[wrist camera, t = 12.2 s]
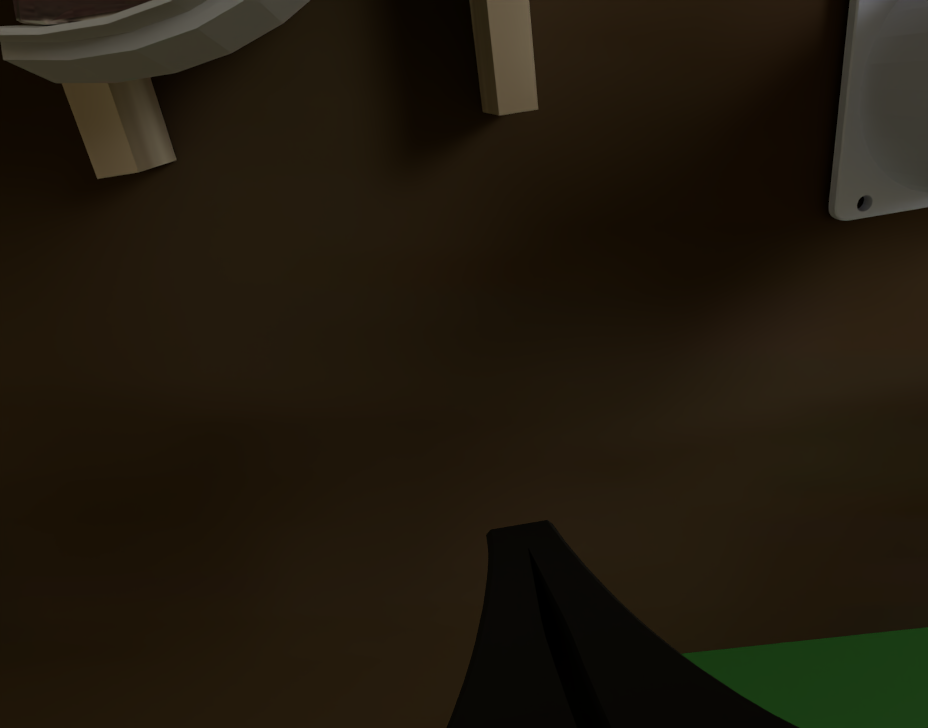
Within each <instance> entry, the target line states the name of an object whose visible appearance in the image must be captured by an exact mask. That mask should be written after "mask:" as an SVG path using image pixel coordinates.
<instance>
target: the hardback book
mask: <svg viewBox="0 0 928 728" xmlns="http://www.w3.org/2000/svg"><path fill="white" fill-rule="evenodd" d="M682 655H683V656H684V657H686V658H687V659H688V660H690V661H691V662H692V663H694V664H695V665H697V666H698V667H699V668H701V669H702V670H704V671H705V672H707V673H708V674H710V675H711V676H713V677H714V678H716V679H717V680H719V681H720V682H722V683H723V684H725V685H726V686H728V687H729V688H731V689H732V690H734V691H735V692H737V693H738V694H740V695H741V696H743V697H745V698H746V699H748V700H750V701H752V702H753V703H755V704H757V705H758V706H760V707H762V708H763V709H765V710H767V711H769V712H770V713H772V714H774V715H776V716H778V717H780V718H782V719H784V720H786V721H788V722H790V723H791V724H793V725H795V726H797V727H799V728H928V627H927V628H918V629H909V630H899V631H890V632H881V633H871V634H862V635H853V636H843V637H834V638H825V639H815V640H806V641H797V642H787V643H778V644H769V645H759V646H750V647H741V648H731V649H722V650H713V651H703V652H694V653H685V654H682Z"/></svg>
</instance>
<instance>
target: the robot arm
mask: <svg viewBox="0 0 928 728" xmlns="http://www.w3.org/2000/svg"><path fill="white" fill-rule="evenodd" d="M862 196H864V202H863V204H862V206H861V207H860V208H858V209H857V203H858V200H859V199H860V198H861V197H862ZM828 207H829V213H830V215H831V216H832V217H833V218H835V219H838V220H841V221H850V220H855V219H861V218H867V217H873V216H879V215H885V214H891V213H897V212H903V211H908V210H914V209H920V208H926V207H928V0H850V2H849V12H848V22H847V31H846V41H845V51H844V60H843V70H842V80H841V90H840V99H839V109H838V119H837V129H836V138H835V148H834V158H833V167H832V177H831V187H830V197H829V206H828ZM486 536H487V544H488V574H487V583H486V590H485V597H484V604H483V610H482V615H481V619H480V624H479V628H478V633H477V637H476V642H475V646H474V649H473V653H472V657H471V660H470V664H469V667H468V670H467V673H466V676H465V680H464V683H463V686H462V688H461V691H460V694H459V697H458V699H457V702H456V705H455V708H454V711H453V713H452V716H451V718H450V721H449V723H448V726H447V728H799V727H797V726H795V725H793V724H791V723H790V722H788V721H786V720H784V719H782V718H780V717H778V716H776V715H774V714H772V713H770V712H769V711H767V710H765V709H763V708H762V707H760V706H758V705H757V704H755V703H753V702H752V701H750V700H748V699H746V698H745V697H743V696H741V695H740V694H738V693H737V692H735V691H734V690H732V689H731V688H729V687H728V686H726V685H725V684H723V683H722V682H720V681H719V680H717V679H716V678H714V677H713V676H711V675H710V674H708V673H707V672H705V671H704V670H702V669H701V668H699V667H698V666H697V665H695V664H694V663H692V662H691V661H690V660H688V659H687V658H686V657H684V656H683V655H682V654H680V653H679V652H678V651H676V650H675V649H674V648H673V647H671V646H670V645H669V644H668V643H666V642H665V641H664V640H663V639H661V638H660V637H659V636H658V635H656V634H655V633H654V632H653V631H652V630H650V629H649V628H648V627H647V626H646V625H645V624H644V623H642V622H641V621H640V620H639V619H638V618H637V617H636V616H635V615H634V614H632V613H631V612H630V611H629V610H628V609H627V608H626V607H625V606H624V605H623V604H622V603H621V602H620V601H619V600H618V599H617V598H616V597H615V596H614V595H613V594H612V593H611V592H610V591H609V590H608V589H607V588H606V587H605V586H604V585H603V584H602V583H601V582H600V581H599V580H598V579H597V578H596V577H595V575H594V574H593V573H592V572H591V571H590V570H589V569H588V568H587V567H586V566H585V565H584V563H583V562H582V561H581V560H580V559H579V558H578V556H577V555H576V554H575V553H574V552H573V550H572V549H571V548H570V547H569V545H568V544H567V543H566V542H565V540H564V539H563V538H562V536H561V535H560V534H559V532H558V531H557V530H556V528H555V527H554V525H553V524H552V523H551V522H549V521H548V520H545V521H539V522H533V523H527V524H521V525H515V526H510V527H504V528H498V529H492V530H490V531H489V532H488V534H487V535H486Z"/></svg>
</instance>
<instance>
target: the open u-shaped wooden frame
mask: <svg viewBox="0 0 928 728" xmlns="http://www.w3.org/2000/svg"><path fill="white" fill-rule="evenodd" d="M469 2H470V10H471V18H472V27H473V35H474V44H475V52H476V60H477V69H478V77H479V86H480V94H481V103H482V111H483V112H484V113H489V114H494V115H499V116H500V115H506V114H512V113H519V112H525V111H531V110H538V101H537V90H536V78H535V66H534V54H533V42H532V30H531V18H530V6H529V0H469ZM62 86H63V88H64V91H65V94H66V96H67V99H68V102H69V104H70V107H71V110H72V112H73V115H74V118H75V120H76V123H77V126H78V128H79V131H80V134H81V136H82V139H83V142H84V144H85V147H86V150H87V152H88V155H89V158H90V160H91V163H92V166H93V168H94V171H95V174H96V176H97V179H100V178H106V177H112V176H119V175H125V174H132V173H138V172H141V171H145V170H148V169H151V168H154V167H157V166H160V165H163V164H166V163H170V162H173V161H176V156H175V153H174V150H173V147H172V144H171V141H170V138H169V134H168V131H167V128H166V125H165V122H164V119H163V116H162V113H161V109H160V106H159V103H158V100H157V97H156V94H155V91H154V87H153V84H152V81H151V78H150V77H149V78H143V79H137V80H131V81H124V82H118V83H62Z"/></svg>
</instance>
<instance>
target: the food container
mask: <svg viewBox="0 0 928 728" xmlns="http://www.w3.org/2000/svg"><path fill="white" fill-rule="evenodd" d="M309 1H310V0H13V5H14V11H15V16H16V20H17V21H19V22H22V23H24V24H35V25H16V26H0V42H1V50H2V55H3V60H5V61H7V62H10V63H12V64H14V65H16V66H18V67H21V68H23V69H25V70H27V71H29V72H32V73H34V74H36V75H38V76H40V77H43V78H45V79H47V80H49V81H51V82H54V83H118V82H124V81H131V80H137V79H143V78H149V77H155V76H161V75H167V74H173V73H177V72H180V71H183V70H186V69H189V68H191V67H194V66H197V65H200V64H203V63H205V62H208V61H211V60H214V59H217V58H220V57H222V56H225V55H228V54H231V53H233V52H235V51H236V50H238V49H240V48H241V47H243V46H245V45H247V44H248V43H250V42H252V41H254V40H255V39H257V38H259V37H261V36H262V35H264V34H266V33H267V32H269V31H271V30H273V29H274V28H276V27H278V26H280V25H281V24H283V23H284V22H285V21H287V20H288V19H289V18H290V17H291V16H292V15H294V14H295V13H296V12H297V11H298V10H299V9H301V8H302V7H303V6H304V5H305V4H306V3H308V2H309Z"/></svg>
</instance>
